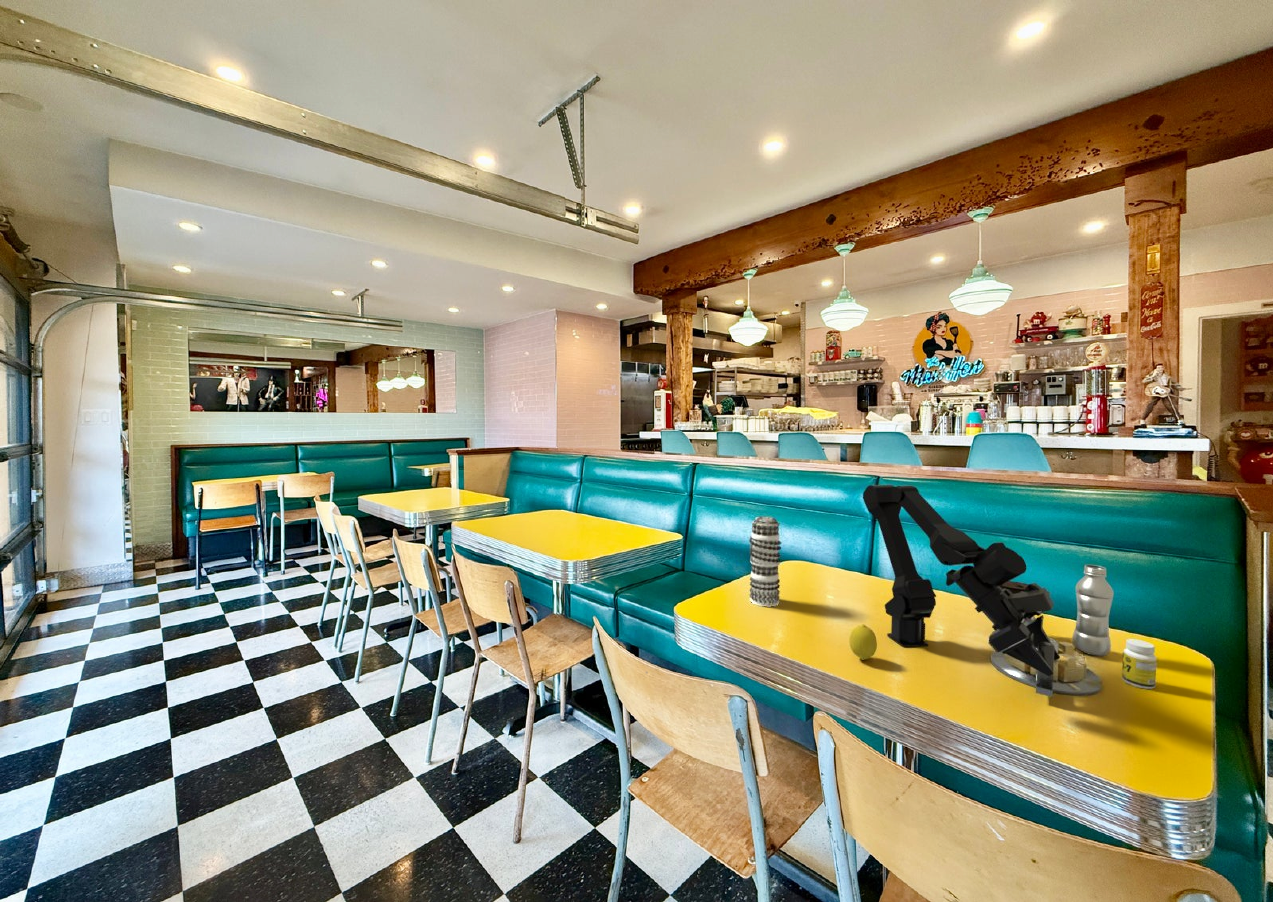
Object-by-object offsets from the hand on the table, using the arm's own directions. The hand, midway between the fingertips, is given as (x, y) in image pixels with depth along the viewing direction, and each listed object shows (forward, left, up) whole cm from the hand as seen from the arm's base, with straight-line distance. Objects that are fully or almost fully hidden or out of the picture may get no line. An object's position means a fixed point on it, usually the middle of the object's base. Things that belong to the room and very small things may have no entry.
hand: (1054, 666), depth 92 cm
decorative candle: (-35, +57, -7) cm, 67 cm away
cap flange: (+9, +11, -7) cm, 16 cm away
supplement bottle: (+24, +5, -7) cm, 26 cm away
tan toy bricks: (+6, +8, -6) cm, 11 cm away
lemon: (-26, +20, -7) cm, 34 cm away
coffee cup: (+18, +28, -7) cm, 34 cm away
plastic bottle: (+28, +18, -7) cm, 34 cm away
